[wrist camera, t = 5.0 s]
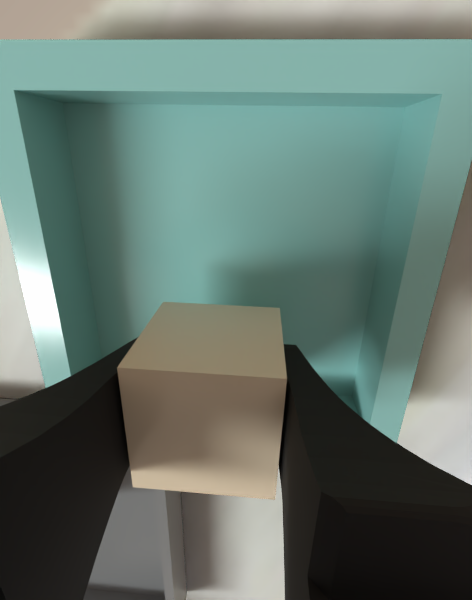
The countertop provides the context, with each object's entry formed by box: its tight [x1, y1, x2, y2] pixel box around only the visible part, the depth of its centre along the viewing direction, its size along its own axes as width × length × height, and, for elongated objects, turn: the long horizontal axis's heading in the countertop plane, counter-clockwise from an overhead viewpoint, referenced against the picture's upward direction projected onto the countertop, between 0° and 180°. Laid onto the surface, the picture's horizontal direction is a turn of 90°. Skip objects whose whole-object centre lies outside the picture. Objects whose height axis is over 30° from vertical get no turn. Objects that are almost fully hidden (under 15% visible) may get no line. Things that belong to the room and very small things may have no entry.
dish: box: [0, 39, 472, 443], centre depth 12 cm, size 13×13×3 cm
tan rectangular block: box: [117, 302, 287, 500], centre depth 11 cm, size 4×4×4 cm
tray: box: [0, 398, 187, 600], centre depth 19 cm, size 17×15×2 cm
